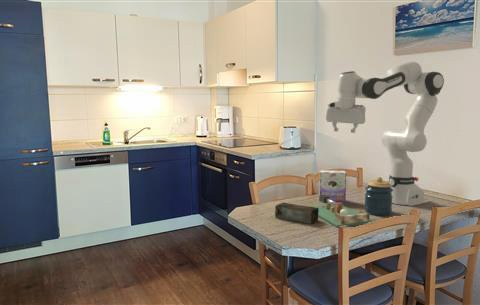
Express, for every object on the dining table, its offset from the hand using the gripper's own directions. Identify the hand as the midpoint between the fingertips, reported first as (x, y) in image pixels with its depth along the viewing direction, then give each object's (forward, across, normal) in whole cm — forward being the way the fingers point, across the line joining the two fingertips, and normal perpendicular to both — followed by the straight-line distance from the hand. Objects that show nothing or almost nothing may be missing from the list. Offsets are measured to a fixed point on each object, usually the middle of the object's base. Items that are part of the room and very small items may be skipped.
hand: (344, 132), depth 201 cm
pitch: (+39, -7, +14) cm, 42 cm away
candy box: (+39, +10, -8) cm, 41 cm away
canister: (+39, -18, -5) cm, 43 cm away
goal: (+39, -17, +20) cm, 47 cm away
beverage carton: (+40, +5, +32) cm, 51 cm away
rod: (+38, -1, +11) cm, 39 cm away
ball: (+36, -11, +16) cm, 41 cm away
